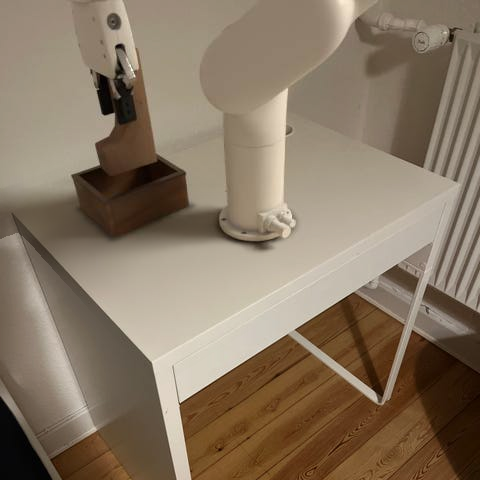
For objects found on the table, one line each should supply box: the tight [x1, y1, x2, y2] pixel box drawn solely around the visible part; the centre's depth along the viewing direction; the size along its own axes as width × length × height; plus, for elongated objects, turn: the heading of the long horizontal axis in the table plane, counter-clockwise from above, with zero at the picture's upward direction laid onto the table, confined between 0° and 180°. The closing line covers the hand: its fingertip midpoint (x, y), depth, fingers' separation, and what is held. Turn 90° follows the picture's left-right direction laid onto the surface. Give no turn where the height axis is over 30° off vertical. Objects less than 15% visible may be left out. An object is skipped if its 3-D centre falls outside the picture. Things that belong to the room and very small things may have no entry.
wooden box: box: [70, 153, 190, 238], centre depth 91 cm, size 13×16×7 cm
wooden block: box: [94, 47, 157, 176], centre depth 81 cm, size 9×4×18 cm, turn 124°
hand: (119, 116), depth 81 cm, fingers closed on wooden block, 4 cm apart
